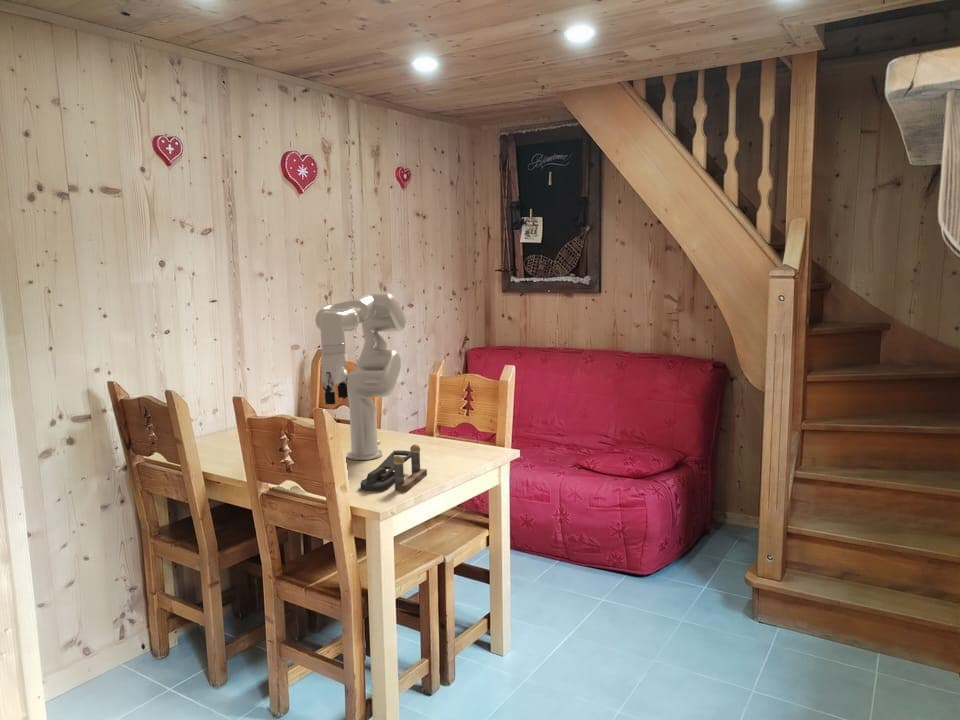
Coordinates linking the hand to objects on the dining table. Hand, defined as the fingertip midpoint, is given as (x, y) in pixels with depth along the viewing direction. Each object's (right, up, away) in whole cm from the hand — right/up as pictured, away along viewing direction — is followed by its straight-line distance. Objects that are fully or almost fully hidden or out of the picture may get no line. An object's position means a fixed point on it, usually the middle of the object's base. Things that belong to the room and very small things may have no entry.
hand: (336, 400), depth 220 cm
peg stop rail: (+25, -25, -9) cm, 36 cm away
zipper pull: (+18, -26, -5) cm, 31 cm away
